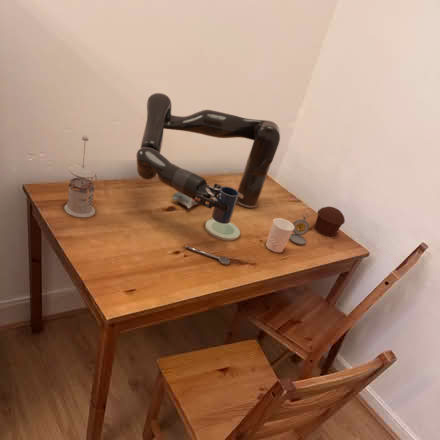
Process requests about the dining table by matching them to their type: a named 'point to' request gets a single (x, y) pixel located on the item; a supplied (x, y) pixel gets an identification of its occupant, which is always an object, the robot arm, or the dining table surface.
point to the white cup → (279, 234)
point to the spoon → (221, 259)
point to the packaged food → (184, 200)
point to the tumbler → (227, 197)
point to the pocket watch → (296, 237)
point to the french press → (81, 190)
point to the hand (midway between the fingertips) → (232, 205)
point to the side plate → (222, 230)
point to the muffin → (329, 221)
